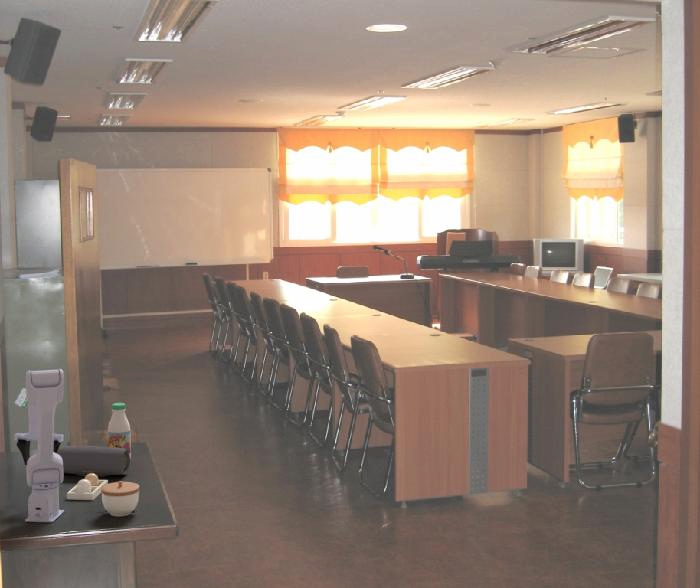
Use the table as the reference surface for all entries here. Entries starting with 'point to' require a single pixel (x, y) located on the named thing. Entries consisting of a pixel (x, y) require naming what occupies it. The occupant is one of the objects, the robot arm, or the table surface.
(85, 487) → the white egg
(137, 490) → the lidded jar
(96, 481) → the brown egg
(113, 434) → the milk bottle
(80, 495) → the white divided tray
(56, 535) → the table surface
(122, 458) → the bluetooth speaker
